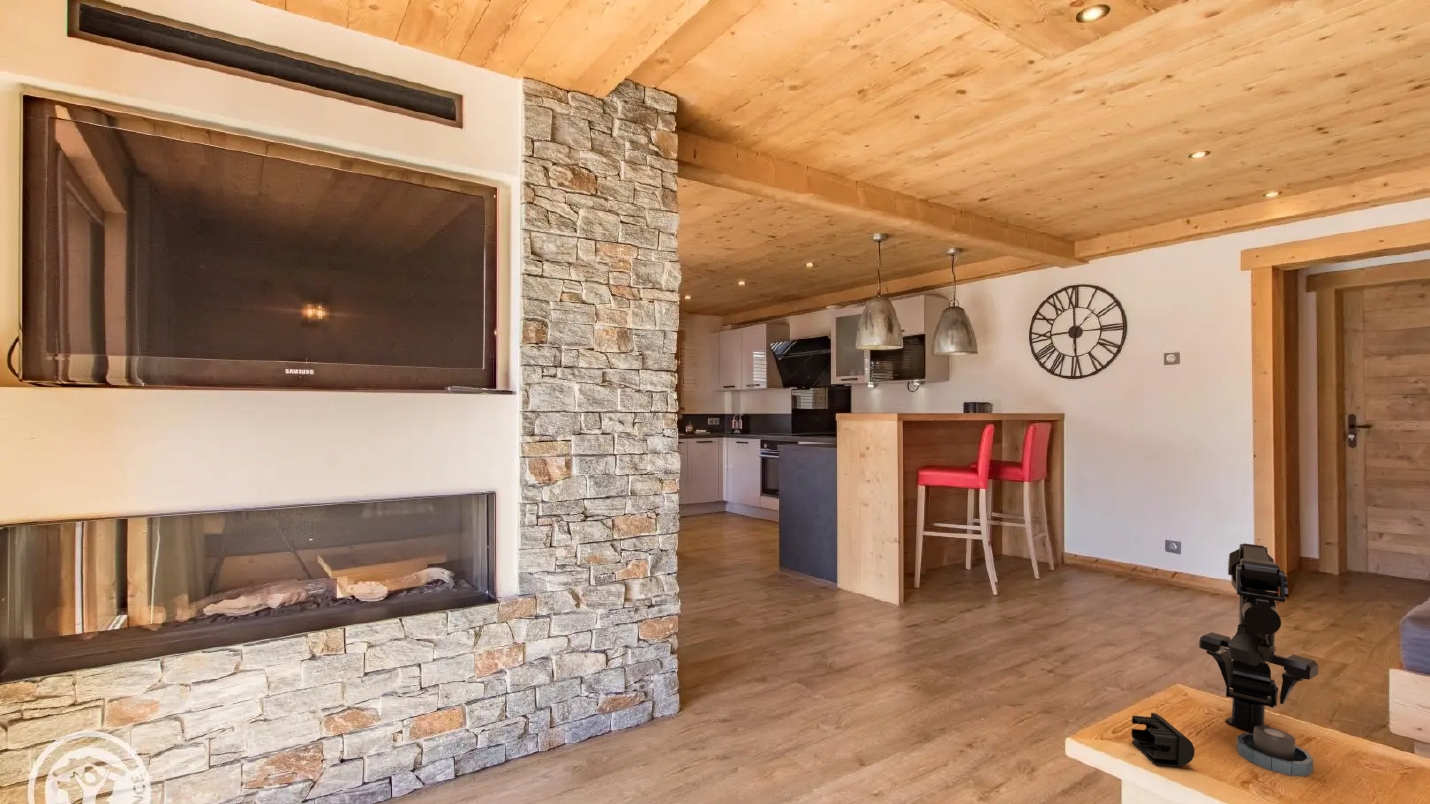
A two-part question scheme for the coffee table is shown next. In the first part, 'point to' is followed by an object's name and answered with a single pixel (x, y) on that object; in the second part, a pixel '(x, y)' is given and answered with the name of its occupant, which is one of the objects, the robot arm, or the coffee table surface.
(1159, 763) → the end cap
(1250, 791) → the coffee table surface
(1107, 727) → the coffee table surface
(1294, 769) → the blue-grey round tray
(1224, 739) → the coffee table surface
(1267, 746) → the dark brown cylinder
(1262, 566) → the robot arm
